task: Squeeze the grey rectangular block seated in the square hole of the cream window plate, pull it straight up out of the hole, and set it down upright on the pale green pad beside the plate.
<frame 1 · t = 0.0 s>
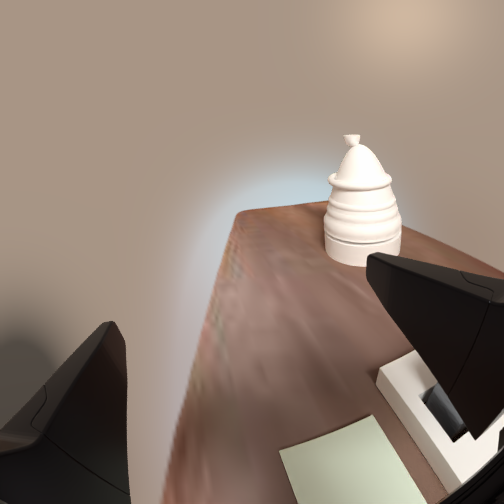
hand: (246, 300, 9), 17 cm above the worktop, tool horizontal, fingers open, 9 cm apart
grey rectangular block: (449, 417, 16), resting in cream window plate
green pad: (356, 495, 13), on the worktop
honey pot: (362, 247, 45), on the worktop
cream window plate: (455, 424, 15), on the worktop
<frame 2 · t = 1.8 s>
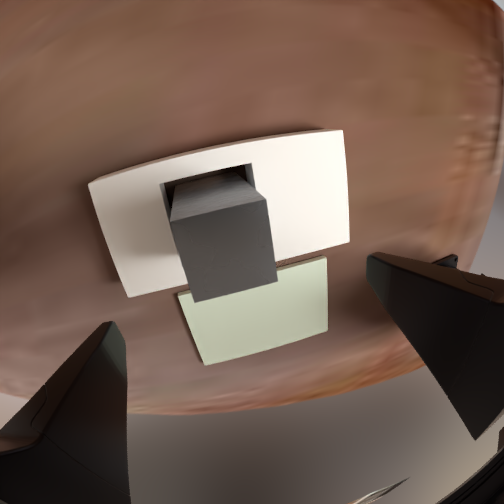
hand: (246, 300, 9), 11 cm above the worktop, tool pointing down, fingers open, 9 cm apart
grey rectangular block: (210, 205, 19), resting in cream window plate
green pad: (260, 313, 24), on the worktop
cream window plate: (225, 202, 19), on the worktop
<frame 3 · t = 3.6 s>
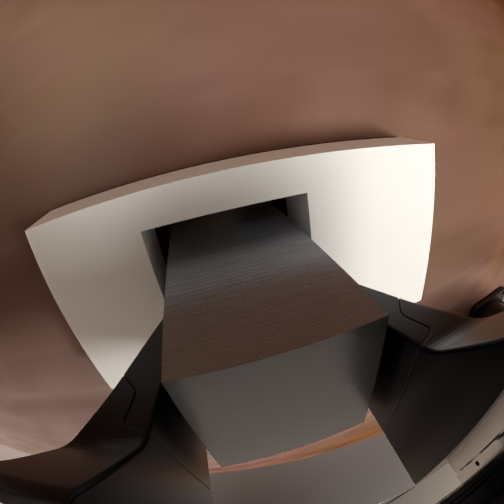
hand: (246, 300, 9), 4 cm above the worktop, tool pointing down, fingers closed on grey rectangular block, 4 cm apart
grey rectangular block: (229, 254, 12), resting in cream window plate, touching gripper
cream window plate: (252, 249, 12), on the worktop
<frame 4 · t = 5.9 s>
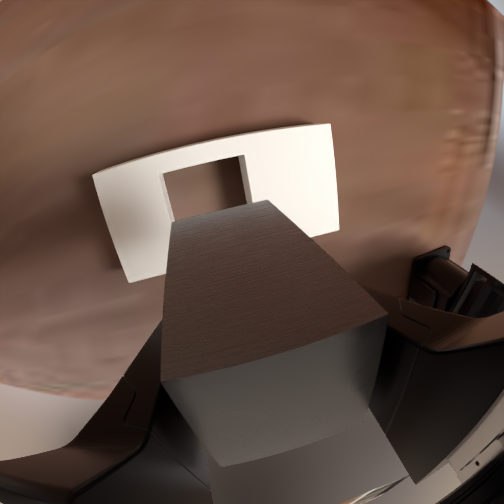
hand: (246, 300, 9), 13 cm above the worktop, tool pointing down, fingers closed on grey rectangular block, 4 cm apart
grey rectangular block: (229, 254, 12), point 9 cm above the worktop, touching gripper
cream window plate: (220, 193, 20), on the worktop
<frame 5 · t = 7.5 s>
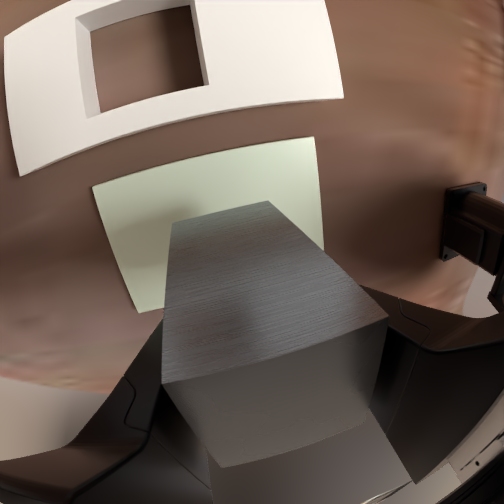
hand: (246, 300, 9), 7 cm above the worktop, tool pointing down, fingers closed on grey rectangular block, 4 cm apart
grey rectangular block: (229, 255, 12), point 4 cm above the worktop, touching gripper
green pad: (217, 225, 16), on the worktop
cream window plate: (163, 52, 11), on the worktop
when the fingers open (5 cm above the worktop, at t = 8.6 s): grey rectangular block drops 1 cm, resting on green pad.
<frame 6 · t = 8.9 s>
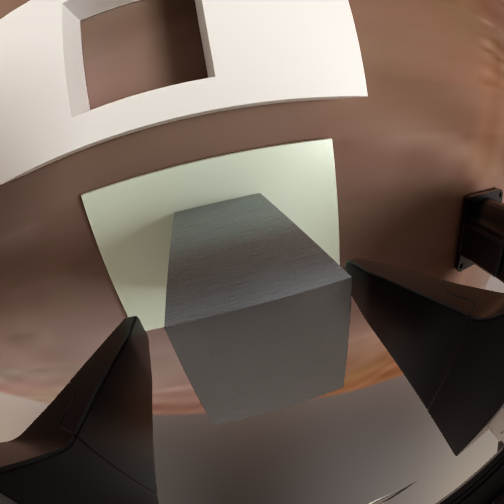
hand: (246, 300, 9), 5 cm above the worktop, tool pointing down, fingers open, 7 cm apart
grey rectangular block: (225, 242, 14), point 1 cm above the worktop, touching green pad
green pad: (223, 238, 14), on the worktop
cream window plate: (161, 41, 9), on the worktop
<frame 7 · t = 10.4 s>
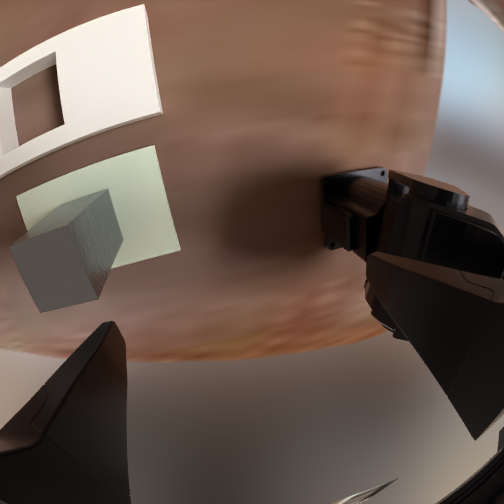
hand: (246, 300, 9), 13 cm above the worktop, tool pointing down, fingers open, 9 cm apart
grey rectangular block: (91, 221, 18), resting on green pad
green pad: (93, 219, 19), on the worktop
cream window plate: (52, 99, 14), on the worktop
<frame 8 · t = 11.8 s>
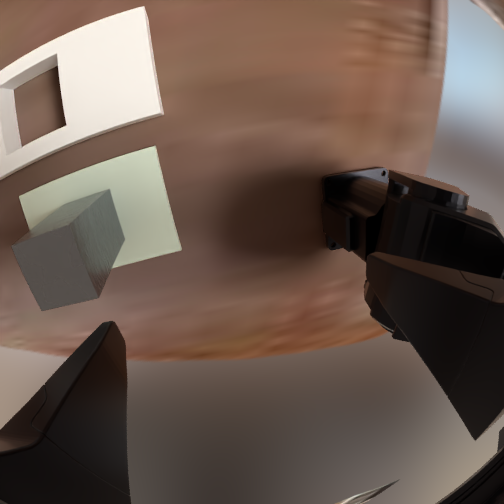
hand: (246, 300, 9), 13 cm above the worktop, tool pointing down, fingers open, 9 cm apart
grey rectangular block: (93, 221, 19), resting on green pad
green pad: (95, 219, 19), on the worktop
cream window plate: (54, 100, 15), on the worktop
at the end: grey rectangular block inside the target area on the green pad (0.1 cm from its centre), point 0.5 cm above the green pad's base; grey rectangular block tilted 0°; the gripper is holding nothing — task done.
